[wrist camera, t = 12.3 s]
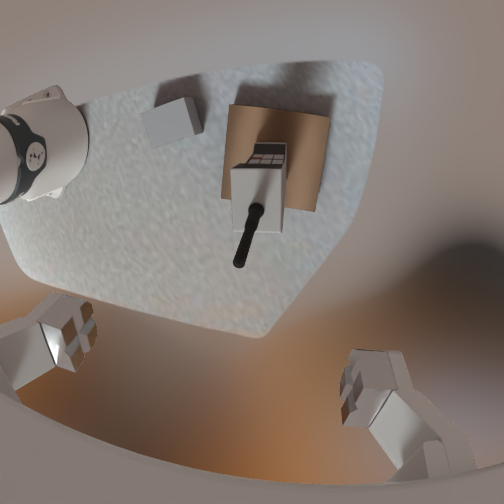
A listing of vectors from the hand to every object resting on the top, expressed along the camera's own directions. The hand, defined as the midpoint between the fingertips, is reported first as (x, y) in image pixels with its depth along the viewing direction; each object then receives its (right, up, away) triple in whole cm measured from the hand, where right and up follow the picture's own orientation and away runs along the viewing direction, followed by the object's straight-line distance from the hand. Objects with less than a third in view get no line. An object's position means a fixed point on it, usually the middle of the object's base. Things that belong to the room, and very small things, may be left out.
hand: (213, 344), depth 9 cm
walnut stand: (+4, +15, +31) cm, 35 cm away
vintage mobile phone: (+3, +14, +29) cm, 32 cm away
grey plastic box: (-9, +20, +31) cm, 38 cm away
